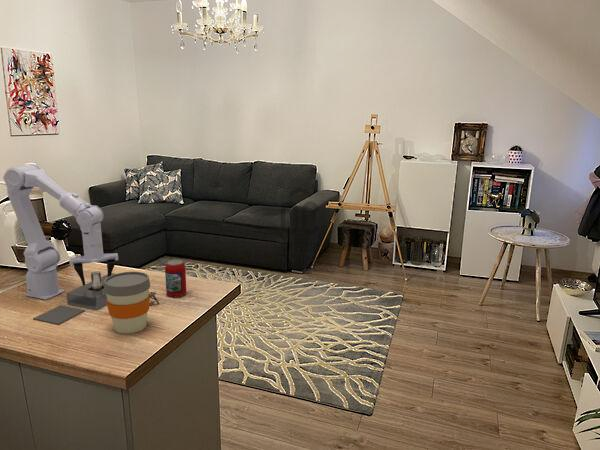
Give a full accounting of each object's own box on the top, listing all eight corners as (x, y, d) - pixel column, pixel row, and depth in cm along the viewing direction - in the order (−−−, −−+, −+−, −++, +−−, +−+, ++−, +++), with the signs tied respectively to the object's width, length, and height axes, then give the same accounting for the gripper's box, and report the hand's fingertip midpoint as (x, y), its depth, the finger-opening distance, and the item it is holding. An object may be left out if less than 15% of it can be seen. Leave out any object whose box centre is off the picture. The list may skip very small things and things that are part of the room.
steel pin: (91, 300, 149) (88, 273, 147) (98, 296, 152) (96, 270, 149) (97, 301, 148) (95, 275, 145) (105, 298, 150) (102, 272, 148)
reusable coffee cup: (118, 316, 138) (114, 270, 134) (158, 317, 138) (155, 271, 134) (99, 335, 126) (94, 286, 122) (143, 337, 126) (140, 287, 122)
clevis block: (67, 304, 145) (66, 293, 144) (111, 283, 164) (110, 273, 163) (97, 310, 142) (95, 298, 141) (138, 287, 160) (137, 277, 159)
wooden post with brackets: (161, 302, 147) (155, 291, 145) (139, 314, 145) (132, 303, 143) (161, 300, 148) (154, 289, 147) (138, 312, 146) (131, 301, 144)
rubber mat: (33, 319, 135) (33, 318, 135) (60, 306, 144) (60, 305, 144) (58, 325, 132) (58, 323, 131) (84, 311, 141) (84, 310, 141)
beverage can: (162, 296, 153) (160, 263, 150) (174, 289, 159) (173, 257, 156) (178, 299, 151) (176, 266, 148) (190, 292, 157) (189, 260, 154)
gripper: (67, 249, 138) (72, 290, 142) (117, 244, 145) (120, 283, 148) (68, 243, 145) (72, 282, 148) (115, 239, 151) (119, 276, 154)
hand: (96, 282), depth 148 cm, fingers open, 7 cm apart
